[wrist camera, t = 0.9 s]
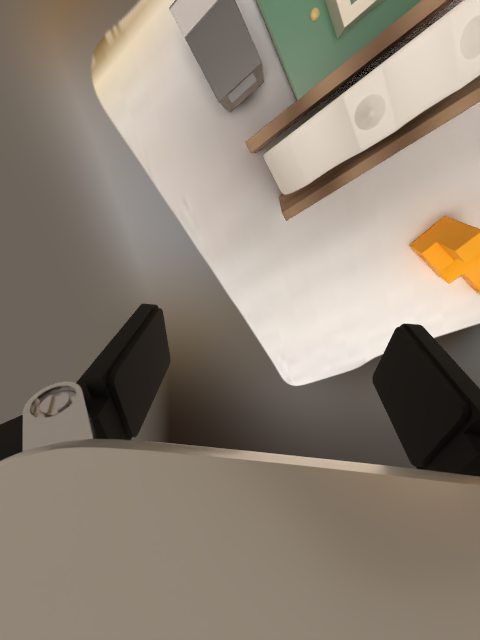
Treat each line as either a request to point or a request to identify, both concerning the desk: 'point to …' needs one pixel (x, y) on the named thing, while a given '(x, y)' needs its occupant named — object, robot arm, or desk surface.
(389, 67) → the white curved piece
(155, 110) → the desk surface
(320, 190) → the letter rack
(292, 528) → the robot arm
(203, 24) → the plug
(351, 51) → the board
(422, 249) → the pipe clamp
